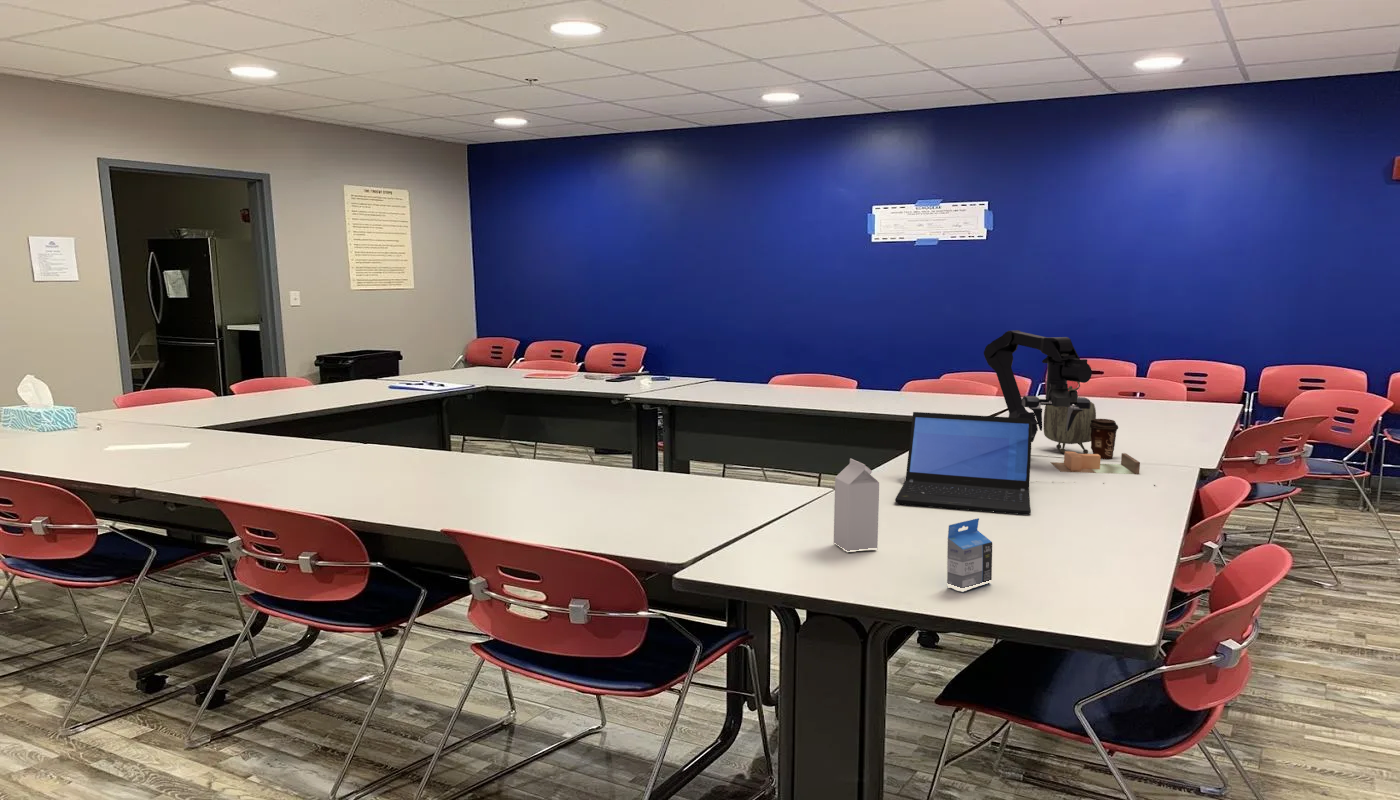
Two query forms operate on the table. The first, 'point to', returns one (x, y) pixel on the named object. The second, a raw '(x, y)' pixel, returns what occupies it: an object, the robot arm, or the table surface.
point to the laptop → (968, 463)
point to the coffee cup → (1103, 437)
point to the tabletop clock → (1078, 431)
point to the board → (1108, 467)
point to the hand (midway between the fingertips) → (1054, 430)
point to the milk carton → (856, 508)
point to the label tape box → (968, 555)
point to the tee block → (1081, 461)
